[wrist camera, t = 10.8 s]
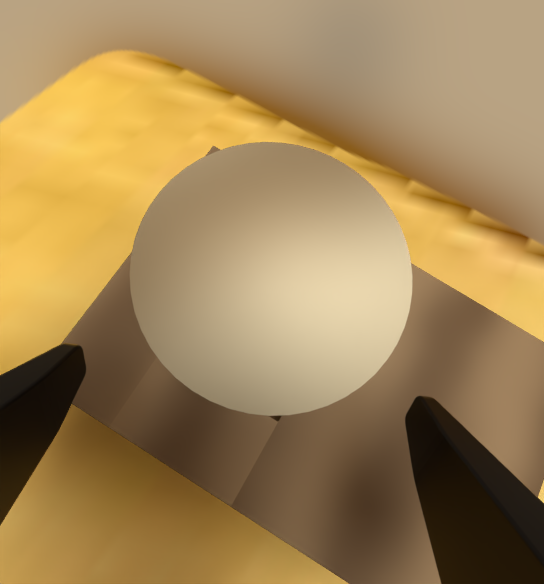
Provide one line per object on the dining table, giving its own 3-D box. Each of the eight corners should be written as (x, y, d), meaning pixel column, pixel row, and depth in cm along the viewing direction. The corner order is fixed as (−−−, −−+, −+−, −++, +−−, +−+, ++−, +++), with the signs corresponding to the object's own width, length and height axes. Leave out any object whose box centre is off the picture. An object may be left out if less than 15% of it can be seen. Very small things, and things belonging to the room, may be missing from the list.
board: (531, 365, 19) (583, 365, 16) (436, 612, 16) (479, 667, 13) (217, 177, 20) (213, 145, 17) (70, 376, 17) (34, 379, 14)
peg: (316, 345, 19) (472, 305, 6) (241, 399, 18) (234, 491, 5) (266, 272, 19) (307, 98, 7) (190, 321, 18) (70, 225, 6)
